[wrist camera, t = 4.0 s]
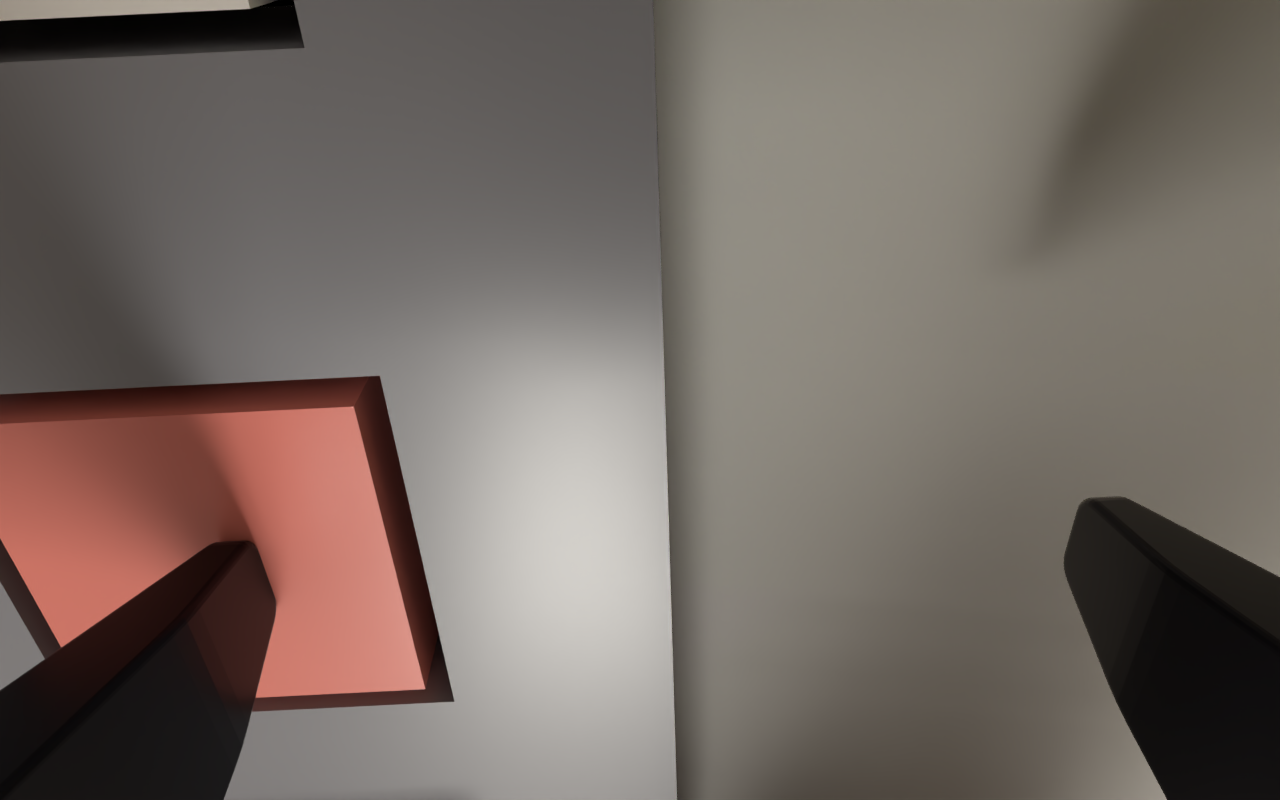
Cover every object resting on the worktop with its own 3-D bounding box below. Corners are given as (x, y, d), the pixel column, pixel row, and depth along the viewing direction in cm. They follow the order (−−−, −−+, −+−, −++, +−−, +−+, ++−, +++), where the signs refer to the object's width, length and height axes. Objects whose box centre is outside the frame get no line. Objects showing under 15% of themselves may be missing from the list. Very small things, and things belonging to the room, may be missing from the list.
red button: (463, 528, 13) (425, 689, 10) (198, 541, 13) (93, 705, 10) (416, 284, 11) (354, 406, 8) (101, 298, 11) (-63, 427, 8)
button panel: (673, 862, 18) (684, 1052, 15) (214, 886, 18) (135, 1080, 15) (603, -1066, 6) (592, -2033, 3) (-802, -1004, 6) (-2237, -1916, 3)
